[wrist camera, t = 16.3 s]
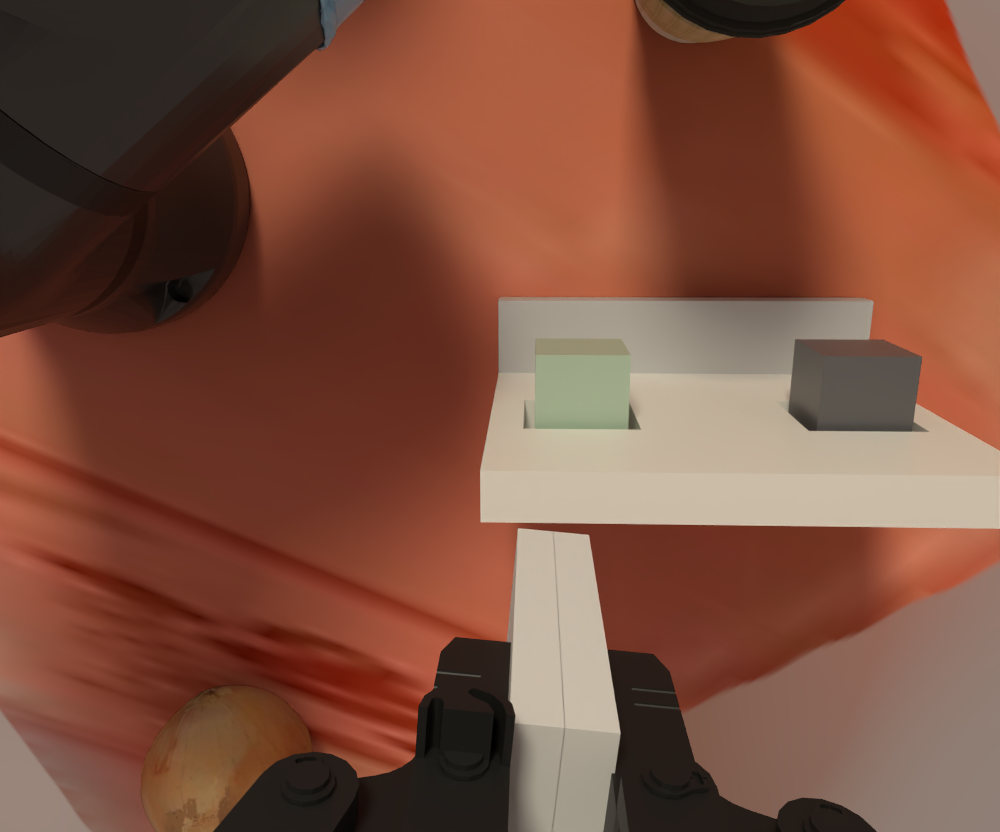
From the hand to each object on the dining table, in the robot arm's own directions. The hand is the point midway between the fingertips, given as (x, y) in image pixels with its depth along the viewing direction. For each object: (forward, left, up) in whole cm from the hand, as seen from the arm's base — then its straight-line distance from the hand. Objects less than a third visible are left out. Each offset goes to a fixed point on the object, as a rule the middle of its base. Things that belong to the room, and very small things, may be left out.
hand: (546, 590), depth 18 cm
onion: (-16, -27, -31) cm, 44 cm away
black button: (+14, 0, -22) cm, 26 cm away
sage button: (+2, -1, -22) cm, 23 cm away
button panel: (+8, 0, -30) cm, 31 cm away
